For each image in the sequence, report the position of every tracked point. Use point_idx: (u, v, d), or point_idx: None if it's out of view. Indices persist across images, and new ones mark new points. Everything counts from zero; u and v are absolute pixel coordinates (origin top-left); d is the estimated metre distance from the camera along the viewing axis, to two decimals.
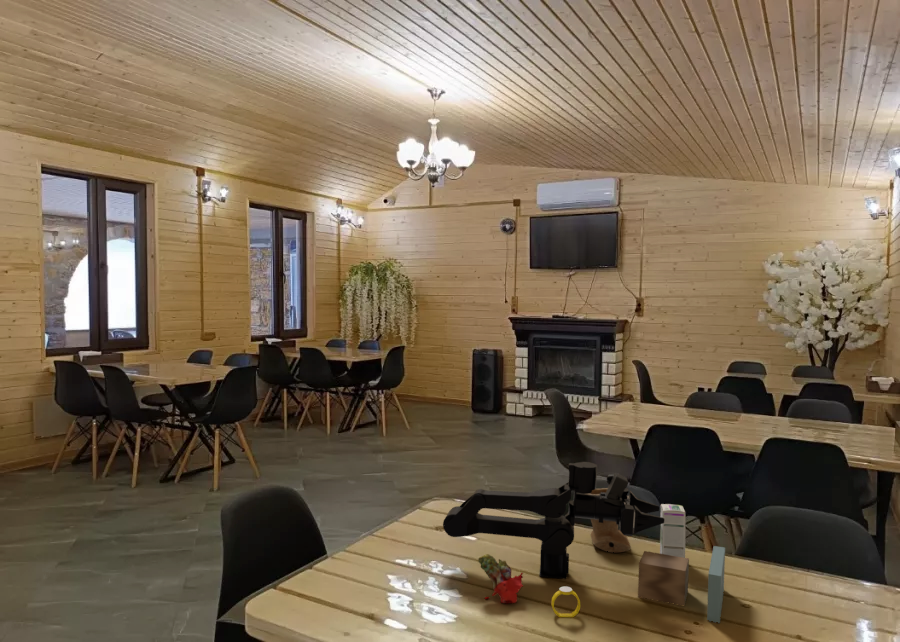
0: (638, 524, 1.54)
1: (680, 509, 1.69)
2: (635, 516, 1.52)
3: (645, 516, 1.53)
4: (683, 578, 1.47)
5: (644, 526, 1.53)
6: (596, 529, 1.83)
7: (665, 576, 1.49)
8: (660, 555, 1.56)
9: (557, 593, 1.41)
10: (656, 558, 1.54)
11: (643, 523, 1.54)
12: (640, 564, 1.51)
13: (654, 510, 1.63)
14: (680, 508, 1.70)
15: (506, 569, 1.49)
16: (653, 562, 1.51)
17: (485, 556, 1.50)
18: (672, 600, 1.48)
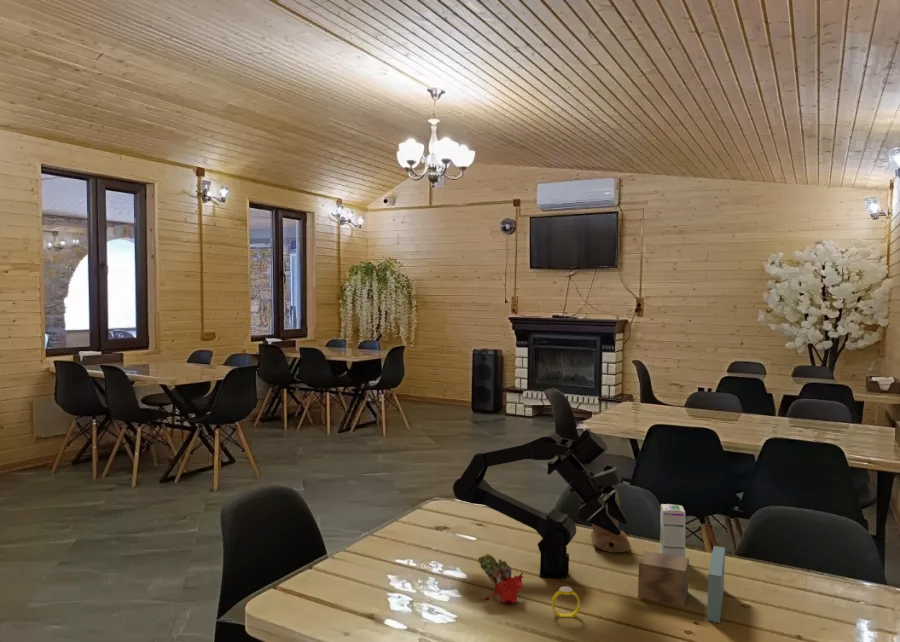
0: (597, 518, 1.53)
1: (680, 509, 1.69)
2: (599, 511, 1.51)
3: (607, 518, 1.52)
4: (683, 578, 1.47)
5: (600, 524, 1.53)
6: (596, 529, 1.83)
7: (664, 576, 1.49)
8: (660, 555, 1.56)
9: (557, 593, 1.41)
10: (656, 558, 1.54)
11: (601, 521, 1.53)
12: (640, 564, 1.51)
13: (621, 521, 1.61)
14: (680, 508, 1.70)
15: (506, 569, 1.49)
16: (653, 562, 1.51)
17: (485, 556, 1.50)
18: (672, 600, 1.48)
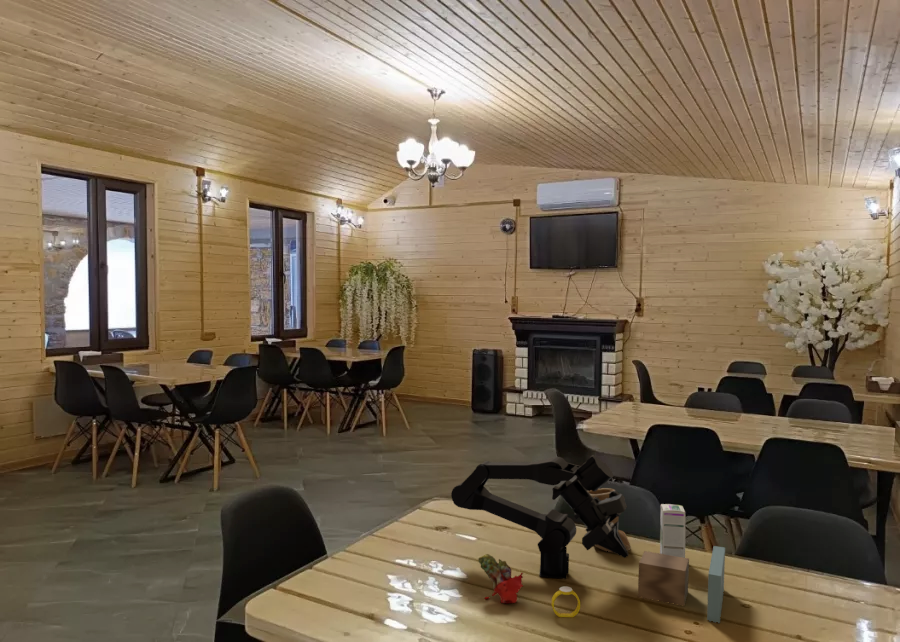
0: (604, 540, 1.57)
1: (680, 509, 1.69)
2: (607, 534, 1.54)
3: (615, 540, 1.55)
4: (683, 578, 1.47)
5: (607, 546, 1.56)
6: None
7: (664, 576, 1.49)
8: (660, 555, 1.56)
9: (557, 593, 1.41)
10: (656, 558, 1.54)
11: (609, 543, 1.56)
12: (640, 564, 1.51)
13: None
14: (680, 508, 1.70)
15: (506, 569, 1.49)
16: (653, 562, 1.51)
17: (485, 556, 1.50)
18: (672, 600, 1.48)
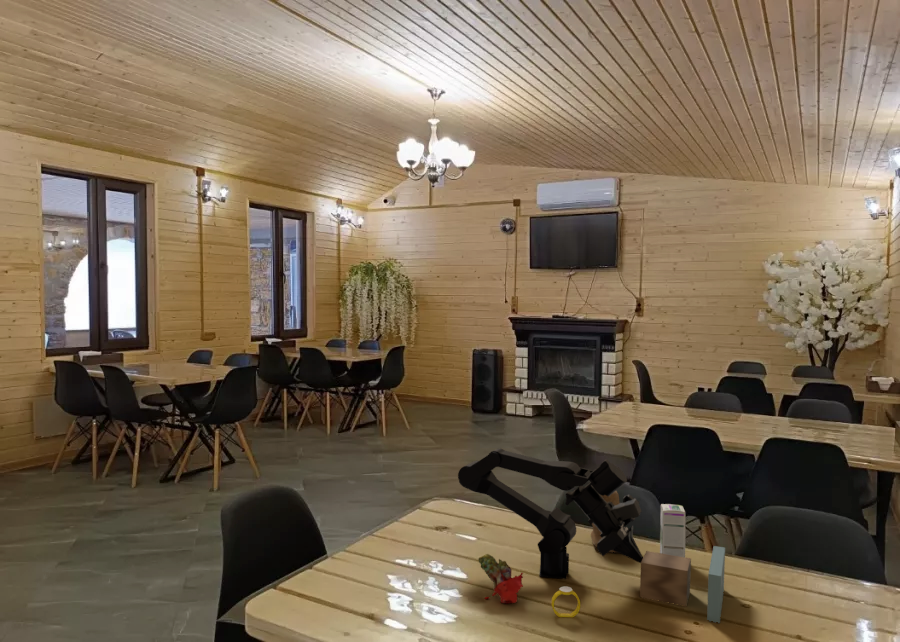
0: (619, 546, 1.55)
1: (680, 509, 1.69)
2: (622, 539, 1.53)
3: (630, 545, 1.54)
4: (685, 578, 1.47)
5: (622, 551, 1.55)
6: (596, 529, 1.83)
7: (666, 576, 1.49)
8: (662, 555, 1.55)
9: (557, 593, 1.41)
10: (658, 558, 1.54)
11: (624, 548, 1.55)
12: (642, 564, 1.51)
13: None
14: (680, 508, 1.70)
15: (506, 569, 1.49)
16: (655, 562, 1.51)
17: (485, 556, 1.50)
18: (674, 600, 1.48)
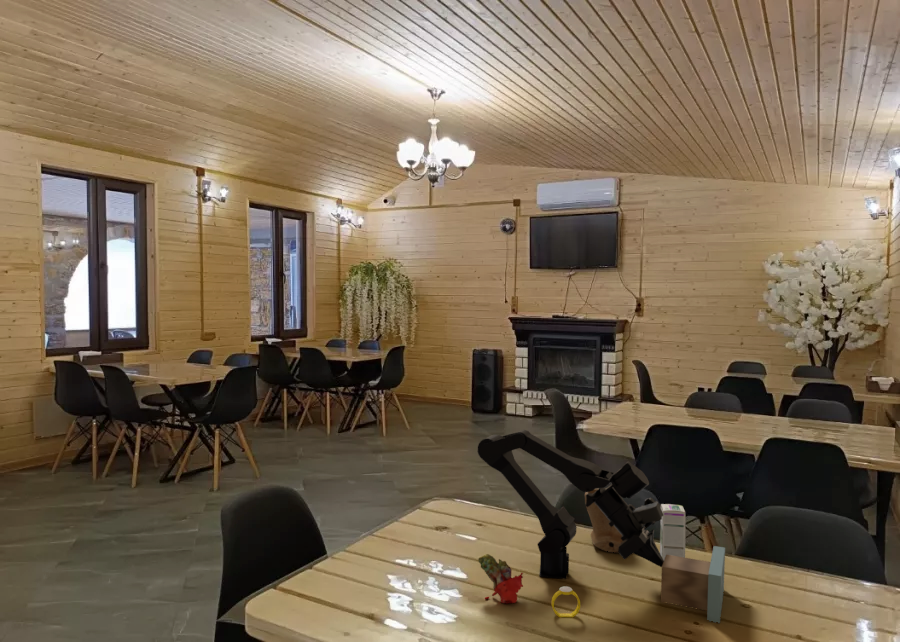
0: (640, 549, 1.53)
1: (680, 509, 1.69)
2: None
3: (651, 549, 1.52)
4: (707, 582, 1.45)
5: (643, 555, 1.53)
6: (596, 529, 1.83)
7: (688, 580, 1.46)
8: (682, 559, 1.53)
9: (557, 593, 1.41)
10: (679, 562, 1.51)
11: (645, 552, 1.53)
12: (663, 568, 1.49)
13: None
14: (680, 508, 1.70)
15: (506, 569, 1.49)
16: (676, 566, 1.49)
17: (485, 556, 1.50)
18: (696, 604, 1.46)
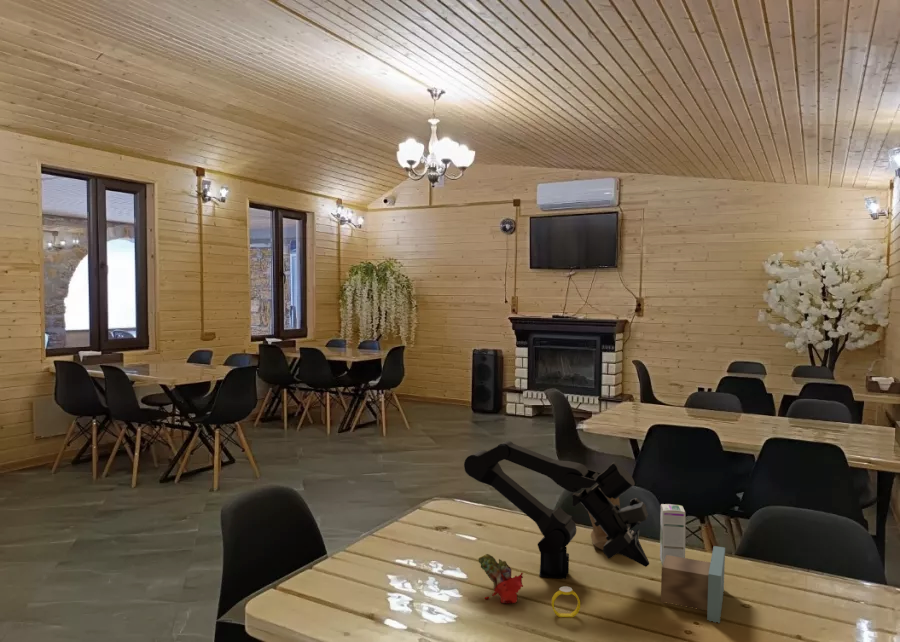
0: (625, 549, 1.55)
1: (680, 509, 1.69)
2: (628, 542, 1.52)
3: (636, 549, 1.53)
4: (707, 583, 1.45)
5: (628, 554, 1.54)
6: (596, 529, 1.83)
7: (688, 580, 1.46)
8: (682, 559, 1.53)
9: (557, 593, 1.41)
10: (678, 562, 1.51)
11: (630, 552, 1.54)
12: (663, 568, 1.49)
13: None
14: (680, 508, 1.70)
15: (506, 569, 1.49)
16: (676, 567, 1.49)
17: (485, 556, 1.50)
18: (696, 605, 1.46)
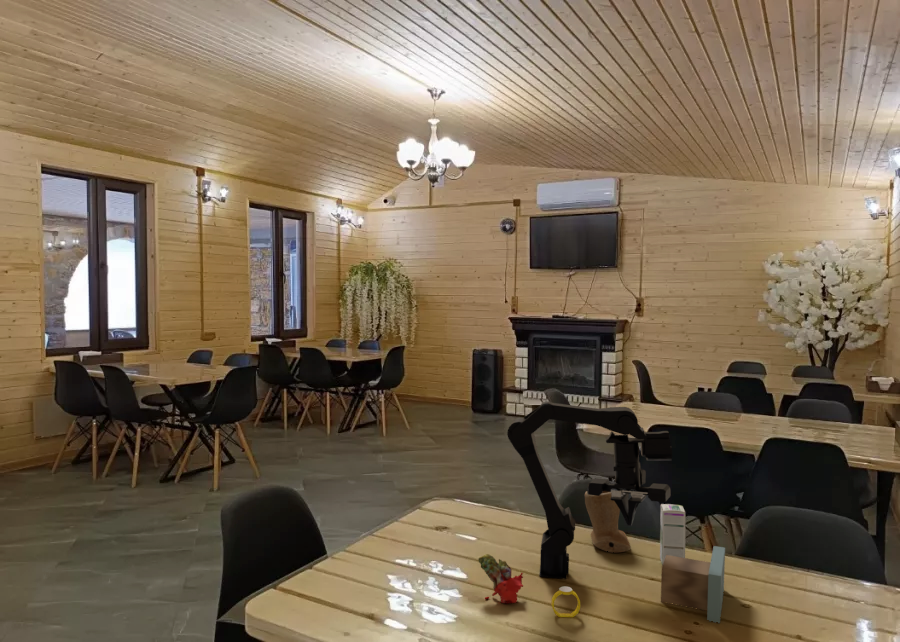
0: None
1: (680, 509, 1.69)
2: (644, 496, 1.59)
3: (636, 506, 1.60)
4: (707, 583, 1.45)
5: (634, 509, 1.58)
6: (596, 529, 1.83)
7: (688, 580, 1.46)
8: (682, 559, 1.53)
9: (557, 593, 1.41)
10: (678, 562, 1.51)
11: None
12: (663, 568, 1.49)
13: None
14: (680, 508, 1.70)
15: (506, 569, 1.49)
16: (676, 567, 1.49)
17: (485, 556, 1.50)
18: (696, 605, 1.46)
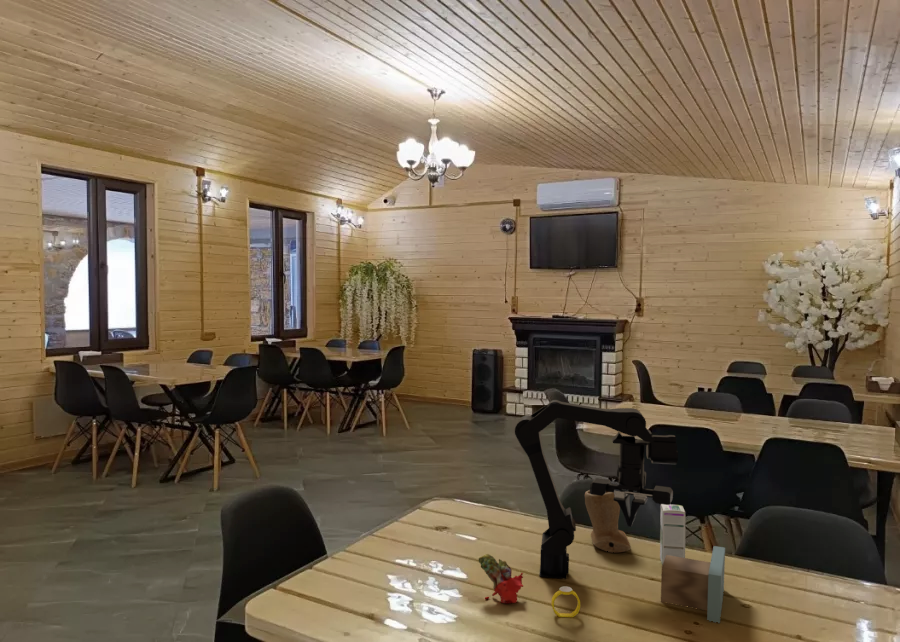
0: None
1: (680, 509, 1.69)
2: (646, 498, 1.60)
3: None
4: (707, 583, 1.45)
5: (636, 510, 1.58)
6: (596, 529, 1.83)
7: (688, 580, 1.47)
8: (682, 559, 1.53)
9: (557, 593, 1.41)
10: (678, 562, 1.51)
11: None
12: (663, 568, 1.49)
13: (629, 522, 1.60)
14: (680, 508, 1.70)
15: (506, 569, 1.49)
16: (676, 567, 1.49)
17: (485, 556, 1.50)
18: (696, 605, 1.46)
